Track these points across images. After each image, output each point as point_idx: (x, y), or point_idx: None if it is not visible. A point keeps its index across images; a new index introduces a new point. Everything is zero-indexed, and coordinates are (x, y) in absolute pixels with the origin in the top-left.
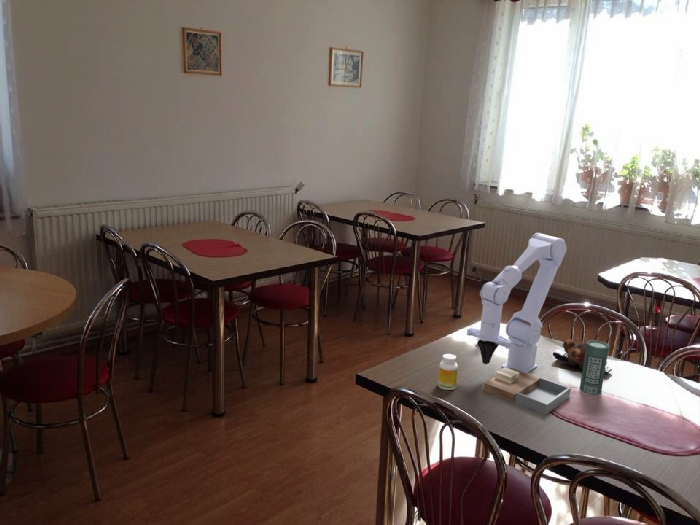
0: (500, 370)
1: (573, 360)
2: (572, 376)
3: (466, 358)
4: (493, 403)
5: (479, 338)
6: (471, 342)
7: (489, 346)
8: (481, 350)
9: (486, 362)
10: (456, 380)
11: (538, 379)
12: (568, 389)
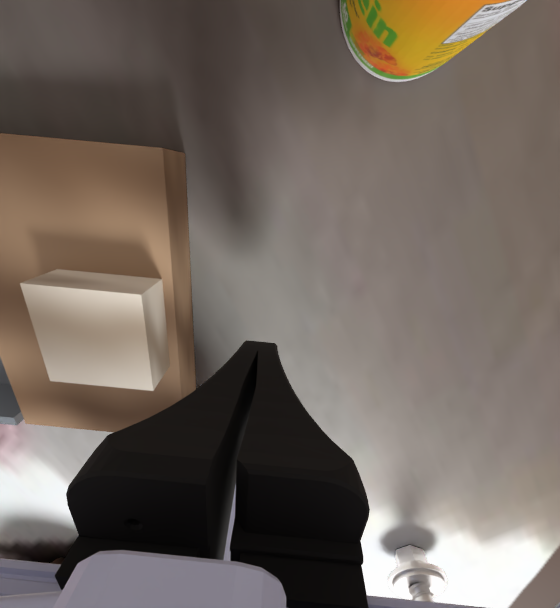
0: (136, 333)
1: None
2: (51, 513)
3: (428, 434)
4: (26, 4)
5: (436, 581)
6: (456, 549)
7: (102, 459)
8: (283, 406)
9: (239, 348)
10: (352, 1)
11: (20, 407)
12: None
